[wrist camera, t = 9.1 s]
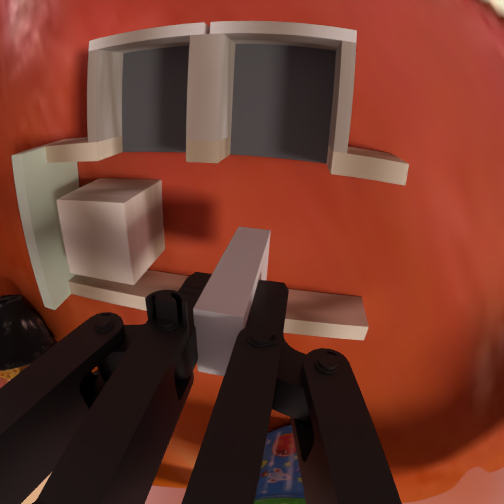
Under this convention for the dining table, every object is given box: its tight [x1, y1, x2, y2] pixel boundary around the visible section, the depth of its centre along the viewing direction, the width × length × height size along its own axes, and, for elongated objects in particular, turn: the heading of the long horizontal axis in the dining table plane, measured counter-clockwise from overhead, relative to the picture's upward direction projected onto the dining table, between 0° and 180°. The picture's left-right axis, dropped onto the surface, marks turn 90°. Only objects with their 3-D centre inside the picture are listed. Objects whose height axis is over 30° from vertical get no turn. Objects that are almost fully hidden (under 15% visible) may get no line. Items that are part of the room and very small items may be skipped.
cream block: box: [56, 178, 165, 285], centre depth 17 cm, size 4×4×4 cm
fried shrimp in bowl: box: [0, 295, 57, 379], centre depth 24 cm, size 9×11×18 cm
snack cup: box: [254, 425, 306, 504], centre depth 23 cm, size 16×10×10 cm
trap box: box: [12, 21, 409, 340], centre depth 15 cm, size 20×16×5 cm
